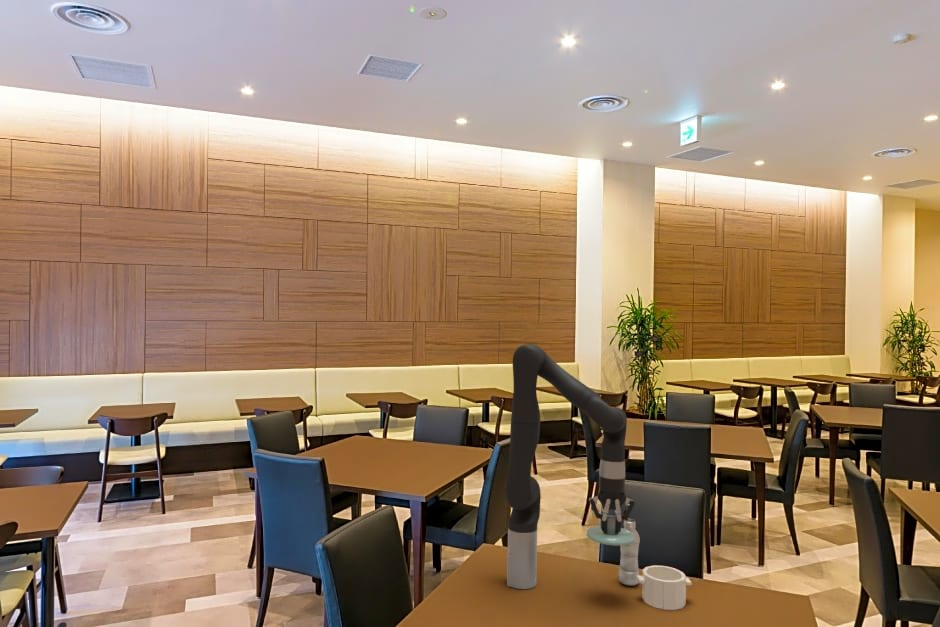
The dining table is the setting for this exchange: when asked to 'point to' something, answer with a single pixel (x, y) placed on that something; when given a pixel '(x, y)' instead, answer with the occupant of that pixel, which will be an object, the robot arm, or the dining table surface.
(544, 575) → the dining table surface
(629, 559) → the plastic bottle
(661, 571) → the pot
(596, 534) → the lid
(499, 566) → the dining table surface
